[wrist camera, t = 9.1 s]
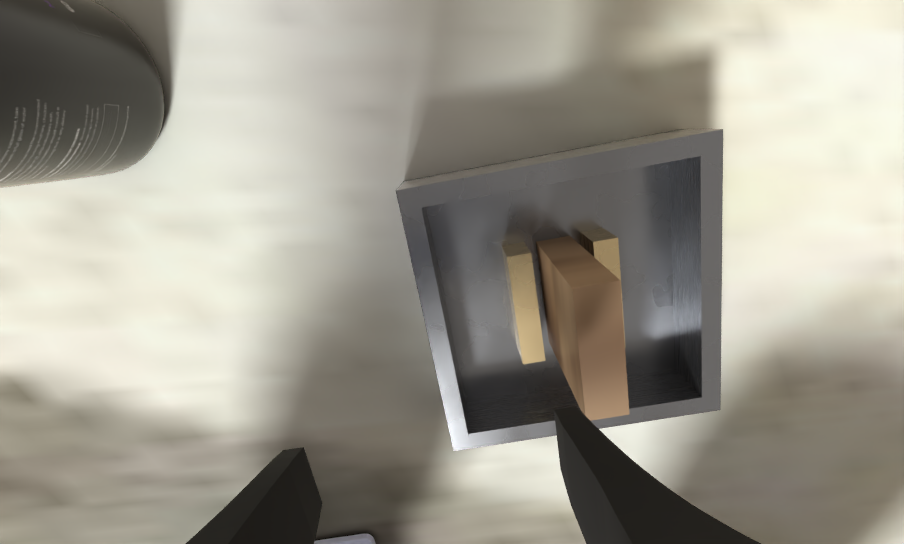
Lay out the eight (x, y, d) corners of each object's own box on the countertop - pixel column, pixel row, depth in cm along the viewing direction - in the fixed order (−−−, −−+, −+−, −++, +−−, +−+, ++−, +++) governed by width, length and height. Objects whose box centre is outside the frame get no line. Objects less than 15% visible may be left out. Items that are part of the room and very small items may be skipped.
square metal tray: (685, 373, 22) (720, 409, 19) (453, 410, 23) (453, 451, 20) (680, 129, 18) (723, 129, 16) (403, 181, 19) (395, 190, 16)
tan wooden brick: (580, 336, 21) (629, 414, 15) (548, 341, 21) (586, 421, 15) (569, 235, 19) (620, 280, 14) (536, 241, 19) (572, 288, 14)
